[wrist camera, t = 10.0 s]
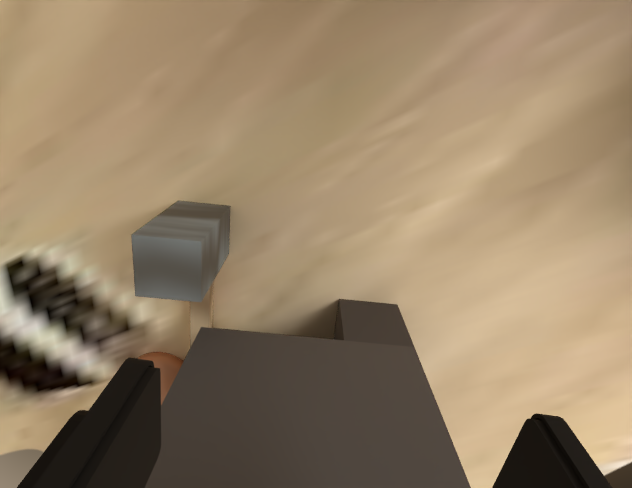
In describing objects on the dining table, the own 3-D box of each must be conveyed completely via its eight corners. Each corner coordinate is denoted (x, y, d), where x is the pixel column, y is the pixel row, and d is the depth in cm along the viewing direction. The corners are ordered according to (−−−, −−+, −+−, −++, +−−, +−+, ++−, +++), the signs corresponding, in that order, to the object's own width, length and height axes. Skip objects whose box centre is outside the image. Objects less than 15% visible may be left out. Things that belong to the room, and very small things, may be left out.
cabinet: (214, 283, 32) (85, 513, 14) (401, 302, 32) (505, 544, 15) (210, 448, 38) (119, 749, 21) (367, 461, 39) (410, 764, 21)
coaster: (127, 348, 34) (116, 362, 33) (194, 352, 35) (187, 367, 33) (132, 401, 36) (122, 417, 35) (195, 405, 37) (189, 421, 35)
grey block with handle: (178, 200, 29) (131, 234, 22) (230, 206, 30) (201, 241, 22) (182, 428, 37) (149, 509, 30) (223, 431, 38) (200, 513, 30)
